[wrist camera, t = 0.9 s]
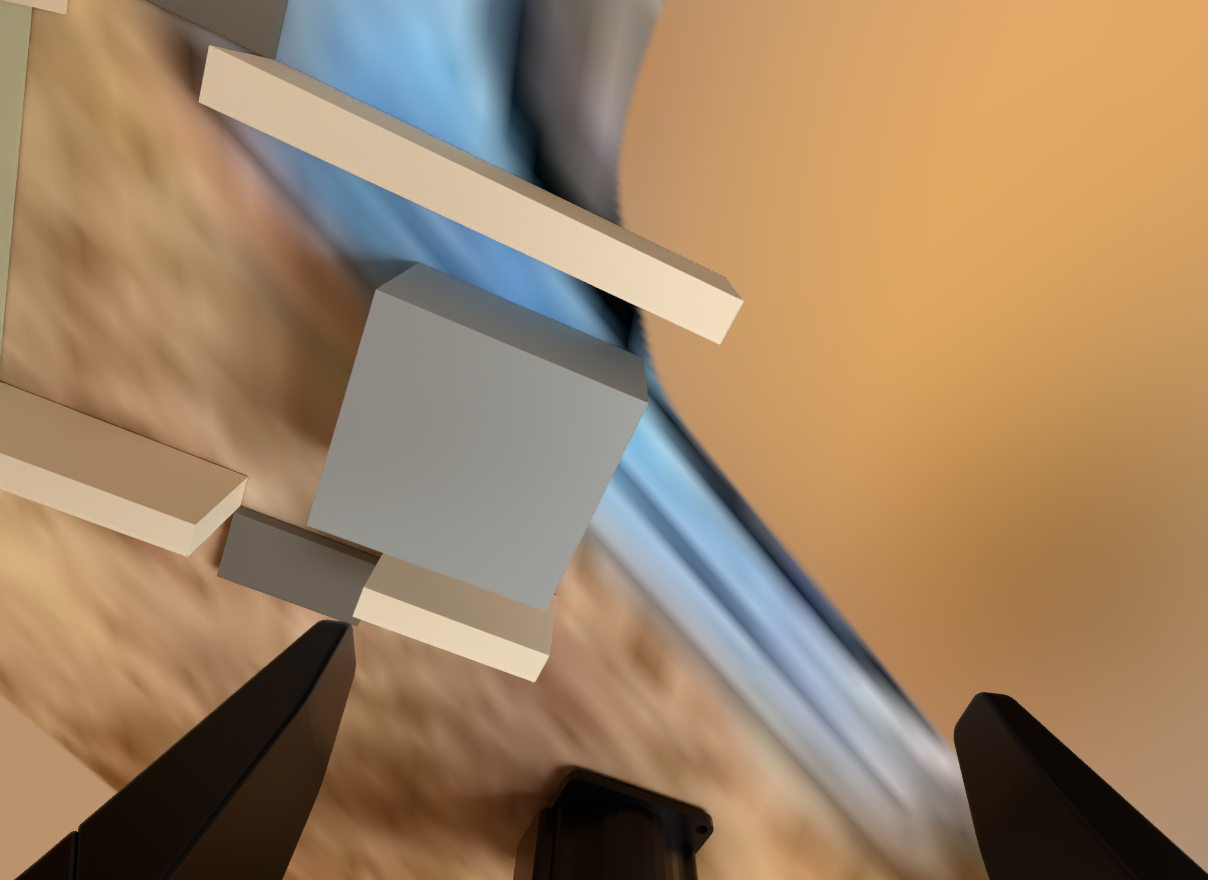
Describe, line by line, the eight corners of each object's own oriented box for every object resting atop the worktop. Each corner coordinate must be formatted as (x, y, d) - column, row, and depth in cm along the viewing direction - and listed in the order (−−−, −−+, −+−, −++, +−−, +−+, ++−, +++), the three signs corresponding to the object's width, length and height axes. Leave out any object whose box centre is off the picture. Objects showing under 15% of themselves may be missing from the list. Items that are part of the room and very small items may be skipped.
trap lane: (726, 277, 19) (743, 301, 16) (544, 620, 24) (535, 682, 21) (-15, -81, 16) (-145, -125, 13) (-46, 398, 21) (-144, 437, 18)
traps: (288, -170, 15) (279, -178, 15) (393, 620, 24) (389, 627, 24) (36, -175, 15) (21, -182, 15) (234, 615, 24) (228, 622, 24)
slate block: (643, 355, 20) (648, 403, 17) (556, 536, 23) (545, 611, 19) (421, 260, 19) (375, 289, 16) (358, 461, 22) (306, 525, 18)
